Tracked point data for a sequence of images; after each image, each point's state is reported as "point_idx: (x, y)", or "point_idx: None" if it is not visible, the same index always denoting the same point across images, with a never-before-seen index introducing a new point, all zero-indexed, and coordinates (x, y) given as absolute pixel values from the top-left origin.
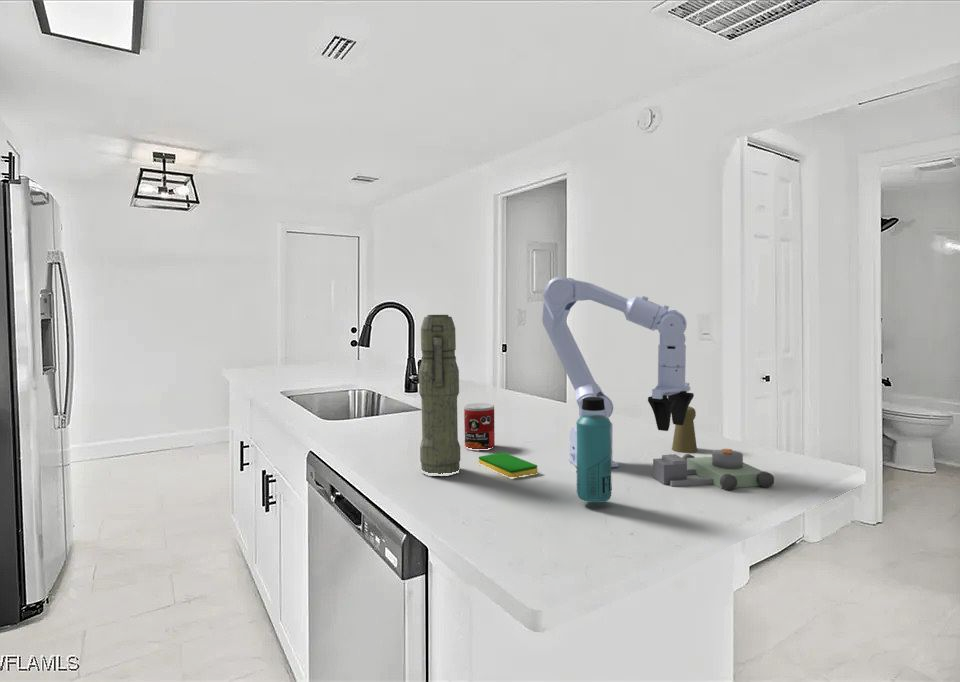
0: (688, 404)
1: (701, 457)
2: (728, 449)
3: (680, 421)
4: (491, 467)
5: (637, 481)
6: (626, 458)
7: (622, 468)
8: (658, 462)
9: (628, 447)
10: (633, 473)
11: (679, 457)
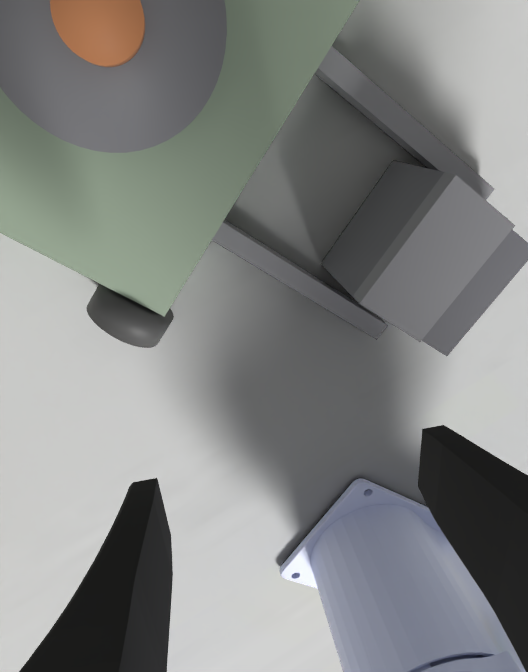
0: (53, 661)
1: (77, 265)
2: (77, 11)
3: (158, 513)
4: None
5: (484, 327)
6: (214, 537)
7: (355, 462)
8: (486, 304)
9: None
10: (392, 399)
11: (413, 247)
